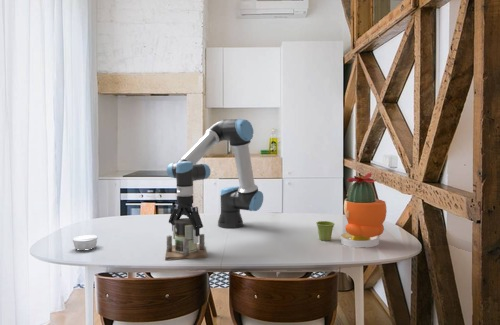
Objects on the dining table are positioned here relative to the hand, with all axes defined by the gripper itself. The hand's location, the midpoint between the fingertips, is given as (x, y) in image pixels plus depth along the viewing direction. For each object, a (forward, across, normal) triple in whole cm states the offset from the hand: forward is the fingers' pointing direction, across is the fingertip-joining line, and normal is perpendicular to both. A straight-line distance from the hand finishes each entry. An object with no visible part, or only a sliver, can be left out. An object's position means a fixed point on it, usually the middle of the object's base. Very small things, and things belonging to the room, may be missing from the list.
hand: (185, 240), depth 182 cm
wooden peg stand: (+6, 0, 0) cm, 6 cm away
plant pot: (+6, +44, +58) cm, 73 cm away
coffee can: (+5, 0, 0) cm, 5 cm away
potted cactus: (+6, +63, +63) cm, 89 cm away
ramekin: (+6, -45, -23) cm, 51 cm away
